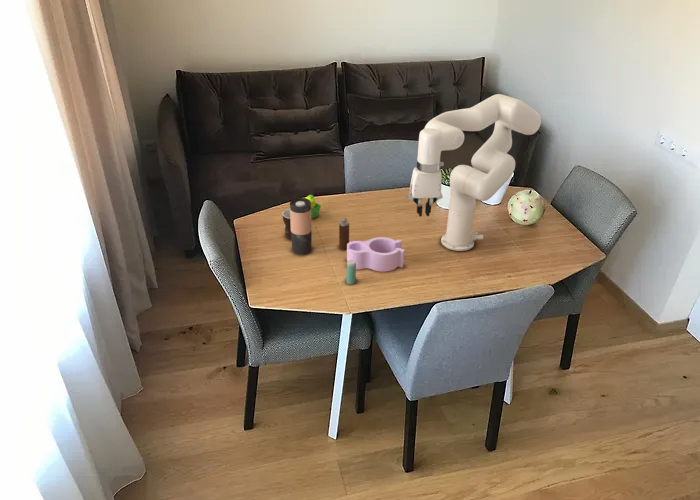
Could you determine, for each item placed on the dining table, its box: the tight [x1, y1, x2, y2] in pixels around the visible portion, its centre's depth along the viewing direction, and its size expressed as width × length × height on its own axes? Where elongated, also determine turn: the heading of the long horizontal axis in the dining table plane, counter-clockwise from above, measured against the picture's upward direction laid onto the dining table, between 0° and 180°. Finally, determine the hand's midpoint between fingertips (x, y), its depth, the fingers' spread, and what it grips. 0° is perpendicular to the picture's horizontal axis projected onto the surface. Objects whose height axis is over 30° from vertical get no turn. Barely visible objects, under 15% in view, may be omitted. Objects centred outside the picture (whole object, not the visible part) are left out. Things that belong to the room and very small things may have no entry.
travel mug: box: [289, 197, 313, 256], centre depth 216 cm, size 8×8×20 cm
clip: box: [346, 236, 406, 273], centre depth 212 cm, size 20×12×7 cm, turn 96°
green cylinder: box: [345, 260, 357, 285], centre depth 201 cm, size 3×3×8 cm
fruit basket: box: [288, 194, 322, 220], centre depth 239 cm, size 11×9×11 cm
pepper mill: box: [338, 217, 350, 251], centre depth 220 cm, size 4×4×13 cm
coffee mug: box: [281, 208, 292, 241], centre depth 228 cm, size 12×9×10 cm
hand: (423, 214), depth 206 cm, fingers closed
